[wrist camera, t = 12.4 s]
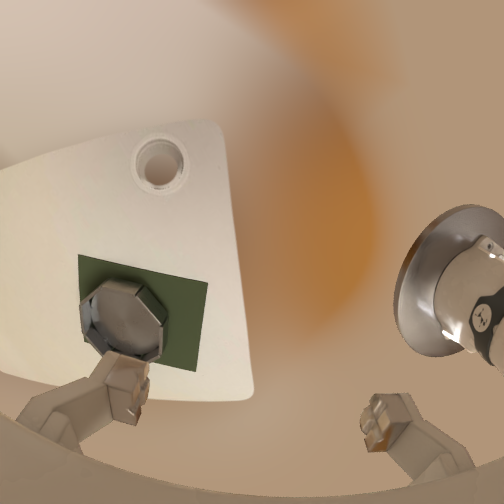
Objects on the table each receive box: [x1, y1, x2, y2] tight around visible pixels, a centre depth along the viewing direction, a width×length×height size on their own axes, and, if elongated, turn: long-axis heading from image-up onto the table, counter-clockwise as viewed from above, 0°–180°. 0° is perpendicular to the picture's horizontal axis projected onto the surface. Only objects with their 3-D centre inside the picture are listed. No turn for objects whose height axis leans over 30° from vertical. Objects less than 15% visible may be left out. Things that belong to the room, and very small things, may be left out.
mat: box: [78, 255, 208, 372], centre depth 42 cm, size 20×16×1 cm
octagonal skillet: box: [79, 277, 169, 363], centre depth 41 cm, size 20×13×5 cm, turn 169°
